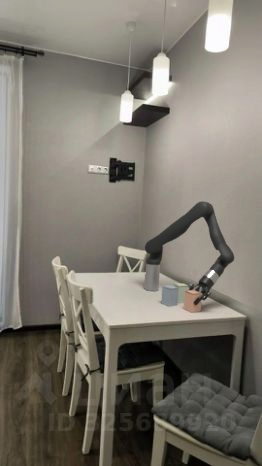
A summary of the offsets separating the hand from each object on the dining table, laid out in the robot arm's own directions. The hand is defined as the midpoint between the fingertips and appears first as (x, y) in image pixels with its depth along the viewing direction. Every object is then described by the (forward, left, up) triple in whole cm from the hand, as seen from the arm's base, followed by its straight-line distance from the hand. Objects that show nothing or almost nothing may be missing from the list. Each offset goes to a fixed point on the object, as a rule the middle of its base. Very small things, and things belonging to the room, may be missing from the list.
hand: (190, 302), depth 172 cm
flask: (-18, +19, -5) cm, 26 cm away
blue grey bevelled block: (-13, -4, -5) cm, 14 cm away
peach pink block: (0, +2, -4) cm, 5 cm away
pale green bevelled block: (-16, +6, -5) cm, 17 cm away
